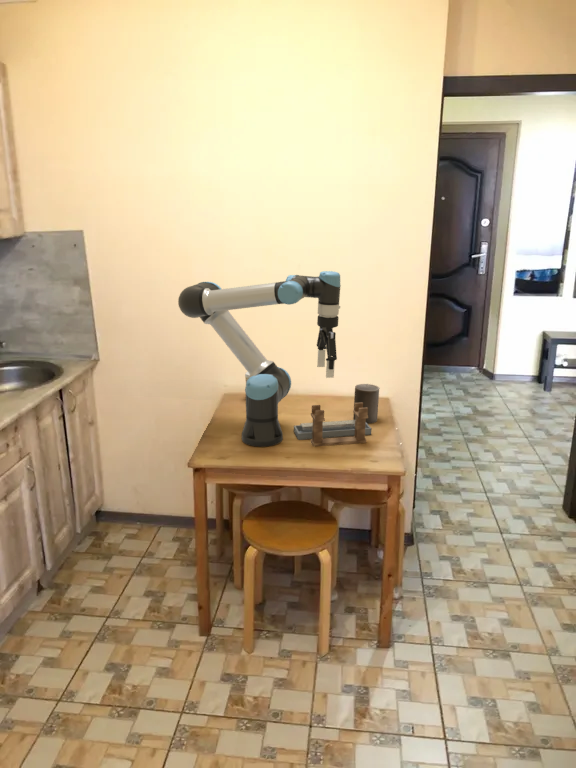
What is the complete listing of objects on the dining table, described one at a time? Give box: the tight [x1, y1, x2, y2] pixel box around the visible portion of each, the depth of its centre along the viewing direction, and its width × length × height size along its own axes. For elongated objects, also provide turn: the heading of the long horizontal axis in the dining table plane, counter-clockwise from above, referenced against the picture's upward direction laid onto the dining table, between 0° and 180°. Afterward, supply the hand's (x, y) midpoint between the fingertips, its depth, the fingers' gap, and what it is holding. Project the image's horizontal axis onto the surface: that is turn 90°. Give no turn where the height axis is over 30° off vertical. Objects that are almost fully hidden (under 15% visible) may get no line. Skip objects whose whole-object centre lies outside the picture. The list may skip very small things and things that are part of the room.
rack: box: [310, 402, 368, 447], centre depth 222 cm, size 20×7×14 cm, turn 101°
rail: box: [299, 419, 355, 433], centre depth 232 cm, size 24×4×4 cm, turn 101°
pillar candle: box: [352, 383, 380, 425], centre depth 245 cm, size 10×10×15 cm
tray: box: [293, 423, 372, 441], centre depth 233 cm, size 28×8×2 cm, turn 101°
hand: (325, 372), depth 227 cm, fingers open, 13 cm apart
